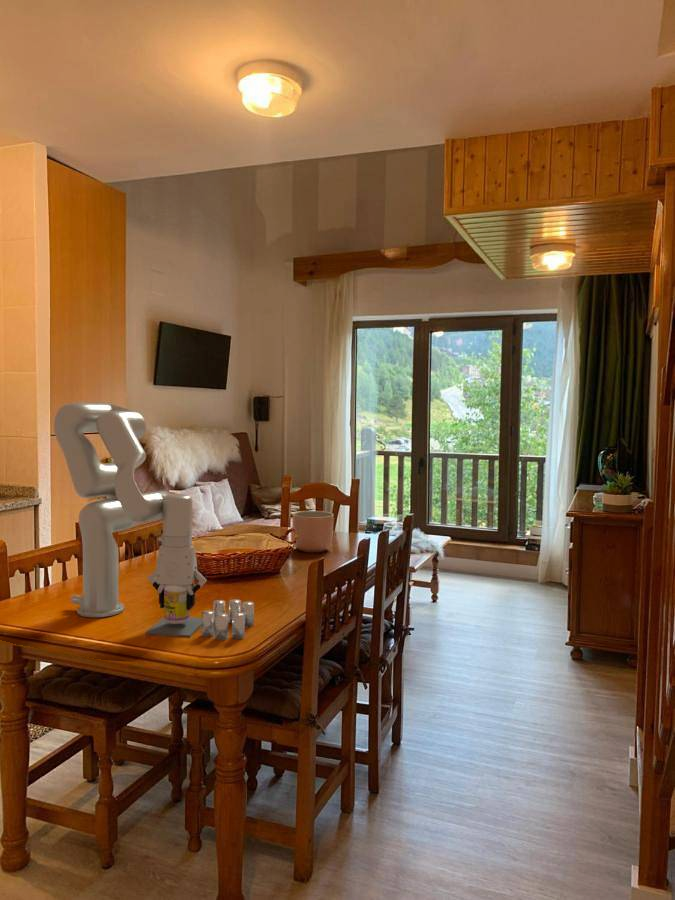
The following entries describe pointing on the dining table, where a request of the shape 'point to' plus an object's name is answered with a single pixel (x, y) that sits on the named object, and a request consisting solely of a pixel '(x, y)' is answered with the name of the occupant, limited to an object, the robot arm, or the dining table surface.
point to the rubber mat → (176, 628)
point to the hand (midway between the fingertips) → (176, 607)
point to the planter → (313, 530)
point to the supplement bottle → (175, 604)
